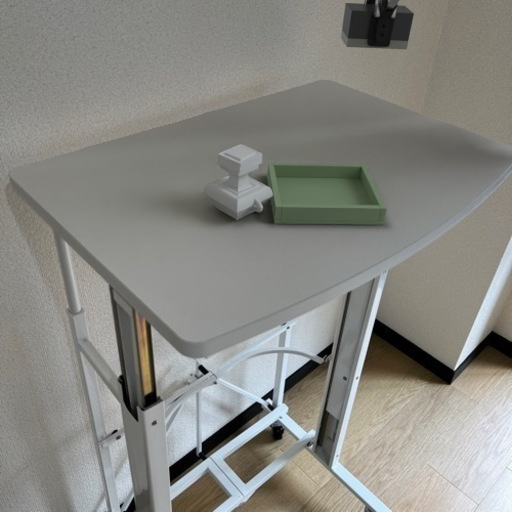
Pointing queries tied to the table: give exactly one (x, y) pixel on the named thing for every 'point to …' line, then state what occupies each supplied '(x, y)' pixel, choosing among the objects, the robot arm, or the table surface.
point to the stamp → (238, 183)
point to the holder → (324, 194)
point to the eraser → (359, 25)
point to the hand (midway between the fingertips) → (373, 39)
